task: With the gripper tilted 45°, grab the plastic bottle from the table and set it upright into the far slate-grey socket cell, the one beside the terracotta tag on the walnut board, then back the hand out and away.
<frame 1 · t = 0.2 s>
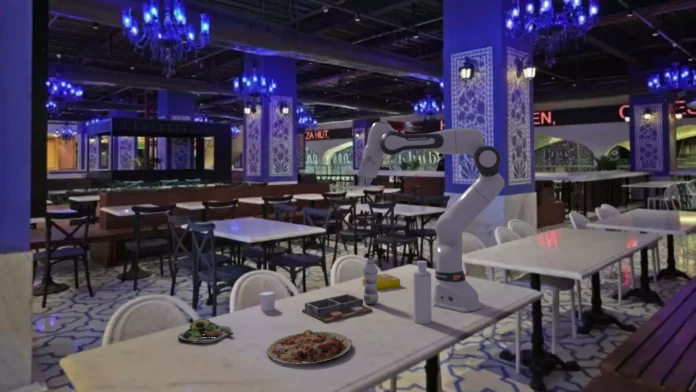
hand: (364, 186, 215), 51 cm above the table, tool tilted 15°, fingers open, 8 cm apart
plastic bottle: (371, 304, 209), on the table
white cup: (267, 309, 204), on the table
element tile: (381, 286, 239), on the table
rice dish: (309, 351, 158), on the table
white bottle: (422, 321, 184), on the table
salad plate: (205, 336, 174), on the table
socket board: (337, 311, 198), on the table
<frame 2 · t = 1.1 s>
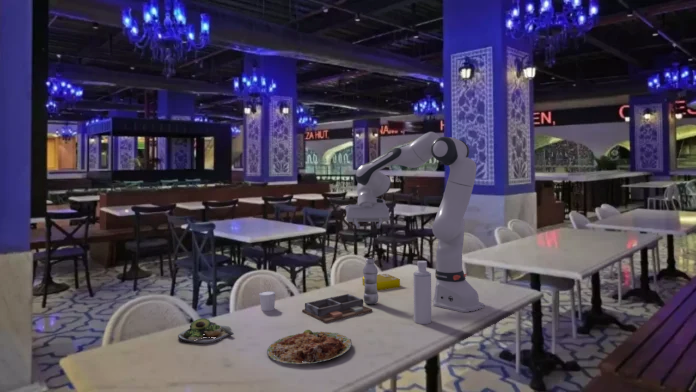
hand: (368, 227, 219), 32 cm above the table, tool tilted 45°, fingers open, 8 cm apart
nothing on the table moved.
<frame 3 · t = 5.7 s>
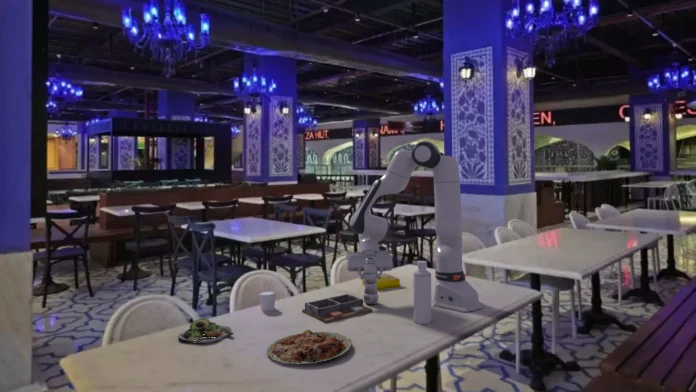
hand: (370, 278, 207), 11 cm above the table, tool tilted 45°, fingers closed on plastic bottle, 6 cm apart
plastic bottle: (371, 304, 209), on the table, touching gripper
everything else where it was.
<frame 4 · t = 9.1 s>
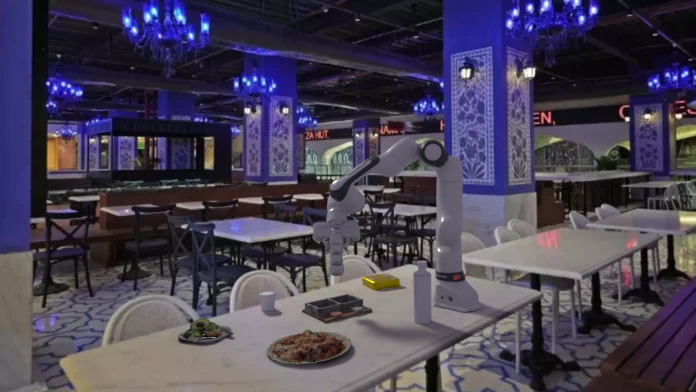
hand: (336, 248, 198), 26 cm above the table, tool tilted 45°, fingers closed on plastic bottle, 6 cm apart
plastic bottle: (336, 276, 200), point 14 cm above the table, touching gripper
everything else where it was.
when the fingers open (14 cm above the table, at t = 13.0 s): plastic bottle moves 1 cm, resting on socket board.
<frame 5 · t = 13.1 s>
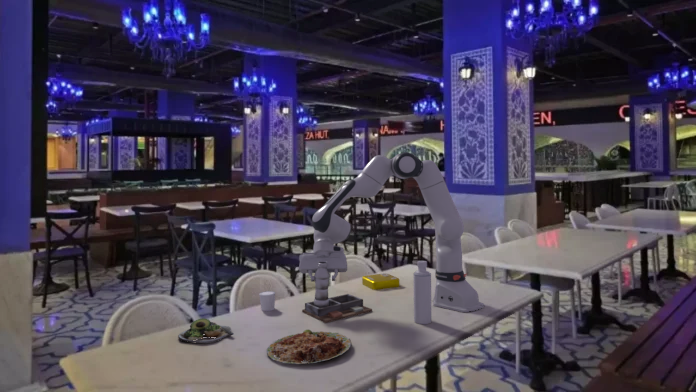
hand: (323, 280, 195), 14 cm above the table, tool tilted 45°, fingers open, 7 cm apart
plastic bottle: (321, 310, 197), point 1 cm above the table, touching gripper, socket board
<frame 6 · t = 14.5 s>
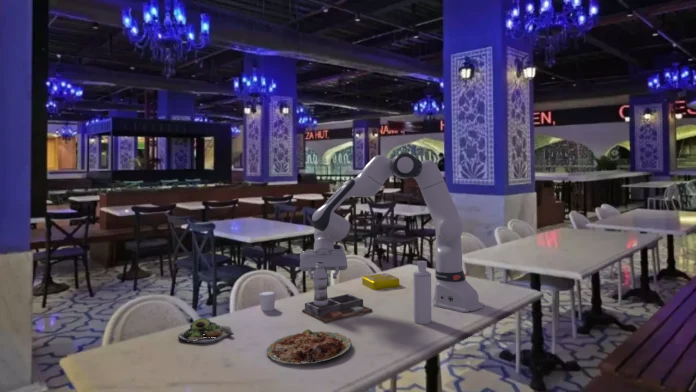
hand: (323, 278, 199), 14 cm above the table, tool tilted 45°, fingers open, 8 cm apart
plastic bottle: (321, 311, 197), point 1 cm above the table, touching socket board
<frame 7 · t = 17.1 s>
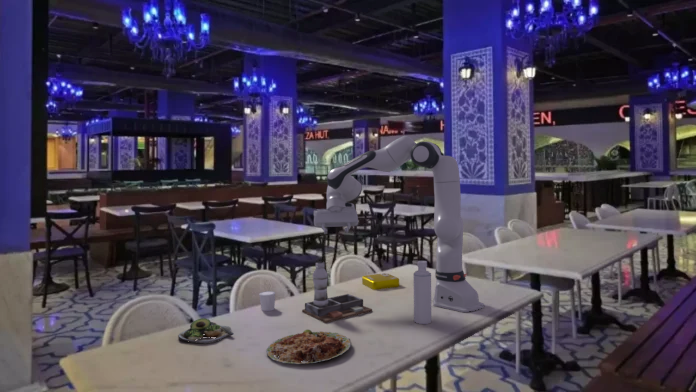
hand: (336, 232, 212), 31 cm above the table, tool tilted 45°, fingers open, 8 cm apart
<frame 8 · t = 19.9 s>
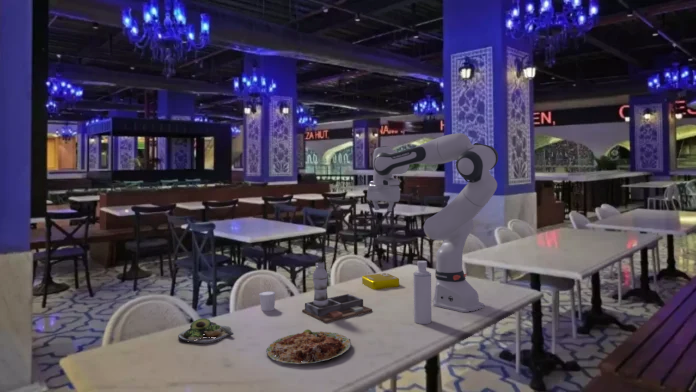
hand: (383, 210, 223), 39 cm above the table, tool pointing down, fingers open, 8 cm apart
at the end: plastic bottle 1.1 cm from the target spot on the socket board, point 0.8 cm above the socket board's base; plastic bottle tilted 0°; the gripper is holding nothing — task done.
